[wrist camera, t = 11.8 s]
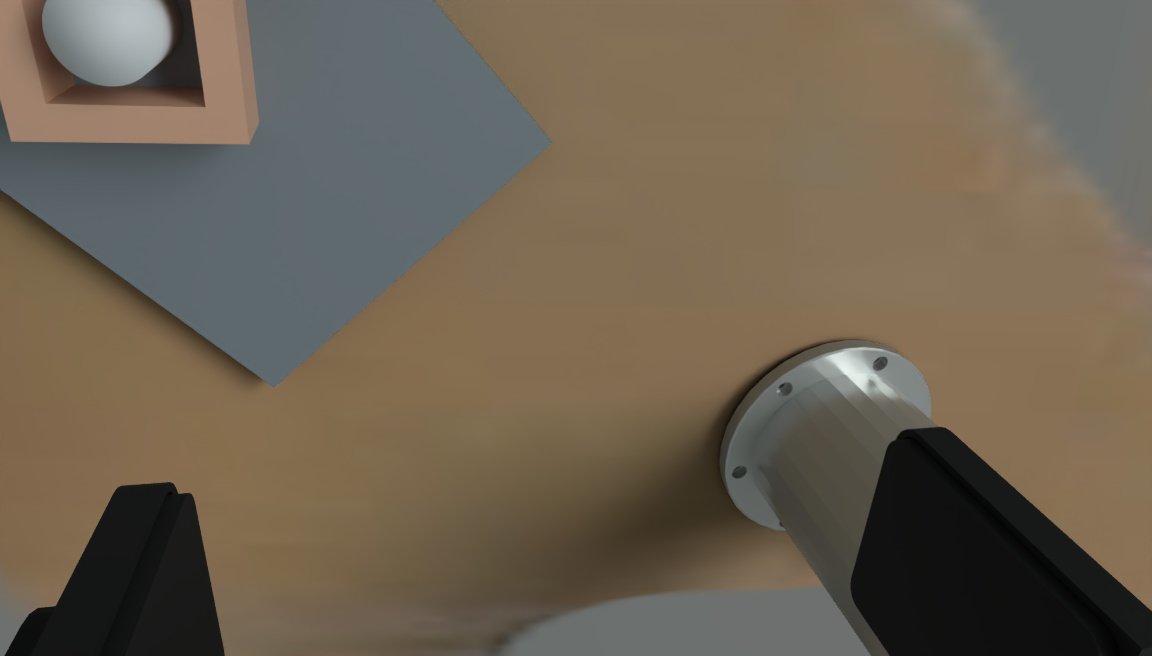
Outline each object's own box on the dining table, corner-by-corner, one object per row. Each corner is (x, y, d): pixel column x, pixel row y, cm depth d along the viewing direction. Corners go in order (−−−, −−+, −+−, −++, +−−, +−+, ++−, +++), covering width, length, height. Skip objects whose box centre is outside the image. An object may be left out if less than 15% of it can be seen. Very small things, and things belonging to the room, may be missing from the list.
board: (546, 134, 33) (575, 171, 28) (276, 373, 35) (264, 441, 31) (178, -304, 24) (137, -350, 19) (-156, 54, 26) (-262, 86, 22)
